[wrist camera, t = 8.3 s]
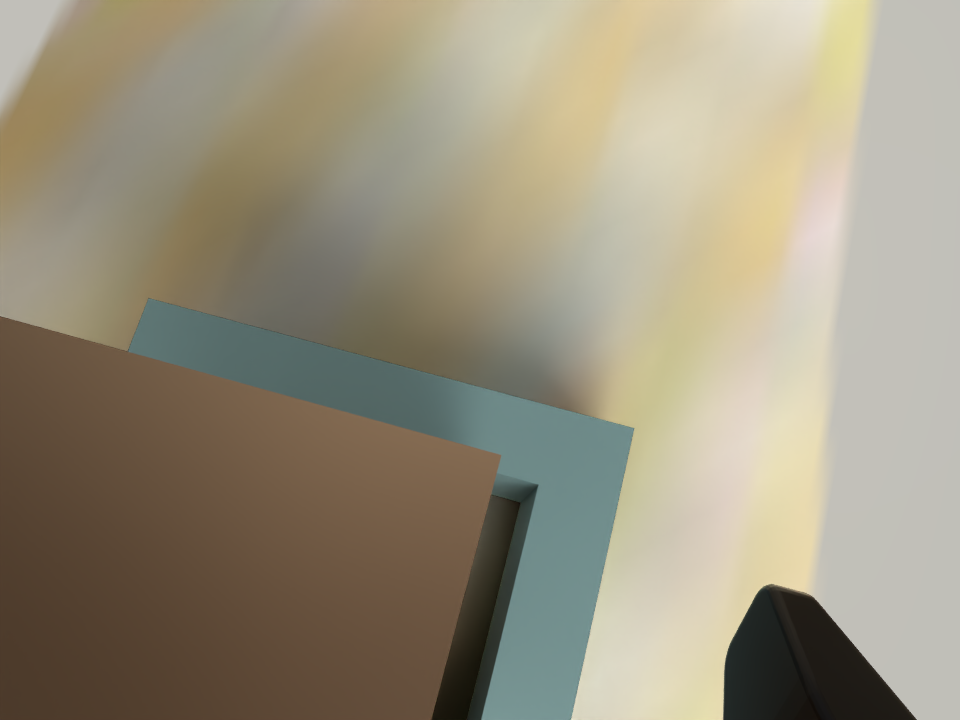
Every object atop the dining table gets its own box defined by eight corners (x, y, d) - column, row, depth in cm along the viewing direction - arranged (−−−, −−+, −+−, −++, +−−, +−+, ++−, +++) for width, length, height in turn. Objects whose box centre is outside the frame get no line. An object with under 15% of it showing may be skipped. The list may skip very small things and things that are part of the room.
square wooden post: (405, 740, 15) (319, 1145, 4) (214, 685, 15) (-361, 944, 4) (459, 542, 16) (501, 454, 5) (279, 492, 16) (-58, 300, 5)
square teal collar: (495, 915, 14) (509, 1002, 11) (38, 786, 14) (-64, 838, 11) (599, 456, 16) (634, 428, 13) (199, 348, 16) (148, 298, 13)
